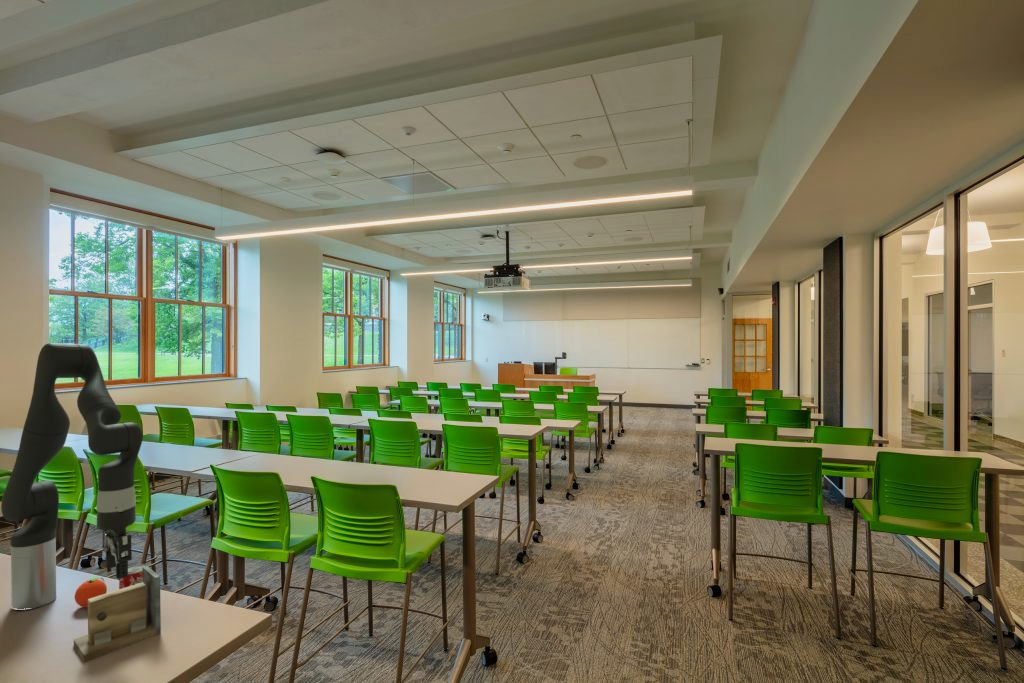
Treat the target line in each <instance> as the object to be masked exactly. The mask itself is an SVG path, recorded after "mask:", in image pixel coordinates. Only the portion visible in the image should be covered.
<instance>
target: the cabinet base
mask: <svg viewBox="0 0 1024 683" xmlns="http://www.w3.org/2000/svg"><path fill="white" fill-rule="evenodd" d="M148 566H149V565H148ZM148 566H144V567H142V578H143V583H144V584H145V585H146V618H145V617H143V618H140V619H137V620H135V621H132V622H130V631H128V632H126V633H123V634H120V635H117V636H115V637H112V638H111V630H110V629H109V630H106V631H103V632H101V633H98V634H95V635H94V644H93V645H91V644H90V643H89V642H88V634H85V635H82V636H80V637H76V638H73V647H74V648H75V650H76V651H77V653H78V655H79V656H80V658H81V660H82V661H83V662H84V663H85V662H87V661H90V660H93V659H95V658H98V657H101V656H104V655H106V654H109V653H112V652H114V651H116V650H119V649H122V648H125V647H127V646H129V644H130V645H132V644H135V643H137V641H138V642H141V641H143V640H145V638H146V639H147V638H148V639H149V638H150V636H151V637H153V636H156V635H159V634H161V633H162V628H161V626H162V625H161V623H162V621H161V618H162V617H161V576H160V574H158V573H157V572H156V571H154V570H153V569H151V568H150V567H148ZM142 639H143V640H142ZM134 642H135V643H134ZM126 645H127V646H126ZM124 646H125V647H124Z"/></svg>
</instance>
